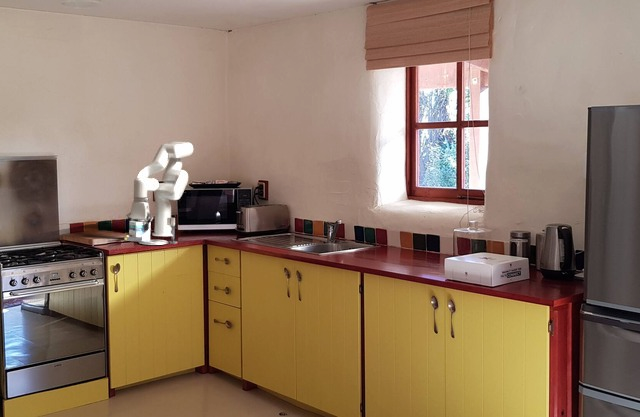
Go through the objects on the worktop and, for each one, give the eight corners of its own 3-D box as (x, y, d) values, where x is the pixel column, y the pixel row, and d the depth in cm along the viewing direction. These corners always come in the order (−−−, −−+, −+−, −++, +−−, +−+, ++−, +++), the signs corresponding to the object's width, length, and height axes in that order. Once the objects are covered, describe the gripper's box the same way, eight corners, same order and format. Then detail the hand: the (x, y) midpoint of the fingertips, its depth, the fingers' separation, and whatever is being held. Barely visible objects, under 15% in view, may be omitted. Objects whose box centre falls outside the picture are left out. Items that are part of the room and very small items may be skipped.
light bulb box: (136, 241, 429) (136, 222, 428) (128, 239, 433) (128, 221, 432) (150, 239, 438) (151, 221, 437) (143, 238, 442) (143, 219, 441)
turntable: (131, 239, 435) (131, 233, 435) (172, 242, 428) (172, 237, 428) (117, 242, 420) (117, 237, 419) (159, 246, 413) (159, 241, 413)
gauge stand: (169, 242, 430) (169, 217, 428) (177, 243, 428) (177, 217, 427) (166, 243, 426) (166, 217, 425) (174, 244, 425) (174, 218, 423)
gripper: (156, 200, 434) (156, 230, 436) (130, 198, 439) (129, 228, 441) (150, 201, 427) (149, 231, 429) (123, 199, 432) (122, 229, 433)
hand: (139, 229), depth 435 cm, fingers closed on light bulb box, 8 cm apart
